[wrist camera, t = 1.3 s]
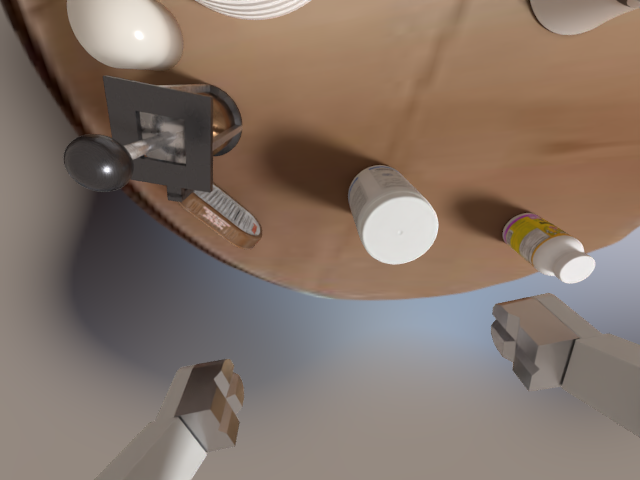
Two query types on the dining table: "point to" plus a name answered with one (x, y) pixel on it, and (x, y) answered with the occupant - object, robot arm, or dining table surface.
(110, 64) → the cream mug
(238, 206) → the tin
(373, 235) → the supplement tub
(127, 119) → the black french press
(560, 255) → the supplement bottle
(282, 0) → the plate stack
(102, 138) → the plunger
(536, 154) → the dining table surface
